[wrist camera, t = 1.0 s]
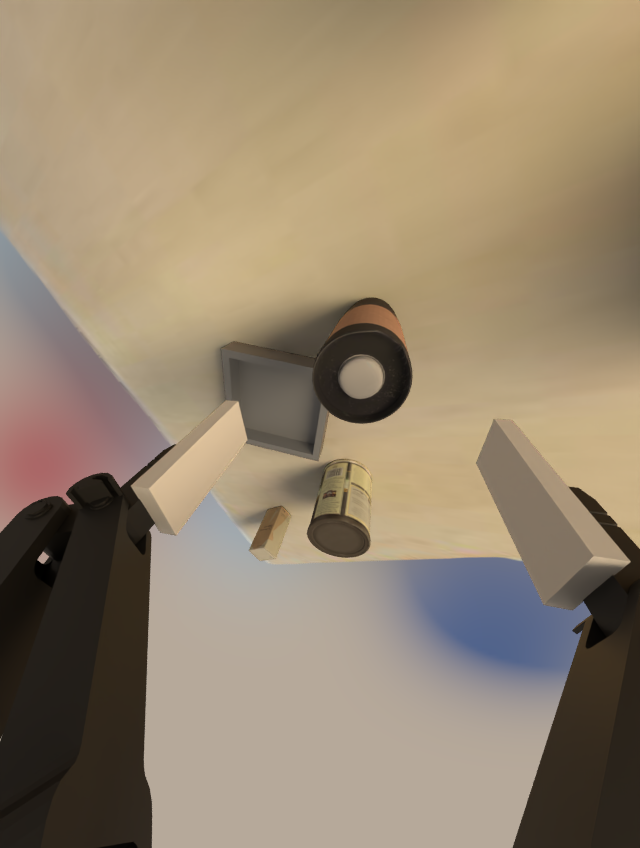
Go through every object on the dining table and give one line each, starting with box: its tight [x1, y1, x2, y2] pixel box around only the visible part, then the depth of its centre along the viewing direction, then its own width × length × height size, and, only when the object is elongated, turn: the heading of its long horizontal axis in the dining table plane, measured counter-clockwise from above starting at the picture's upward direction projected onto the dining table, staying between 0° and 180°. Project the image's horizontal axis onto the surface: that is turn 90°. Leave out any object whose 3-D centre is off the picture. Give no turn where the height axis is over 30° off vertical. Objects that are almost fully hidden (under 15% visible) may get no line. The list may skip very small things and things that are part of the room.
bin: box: [221, 341, 329, 461], centre depth 43 cm, size 17×17×4 cm
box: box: [249, 506, 291, 561], centre depth 58 cm, size 5×4×11 cm
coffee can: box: [307, 459, 372, 558], centre depth 46 cm, size 10×10×14 cm
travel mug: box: [312, 298, 412, 424], centre depth 27 cm, size 8×8×20 cm
